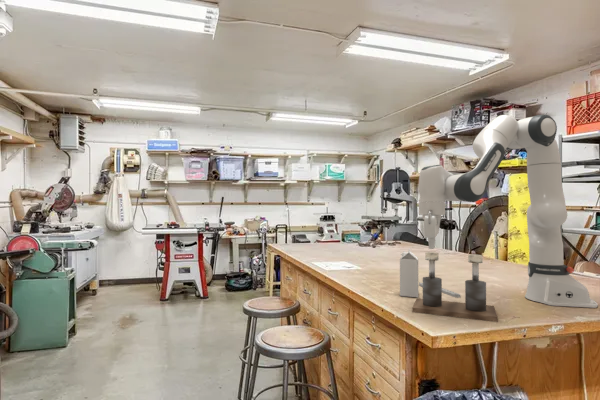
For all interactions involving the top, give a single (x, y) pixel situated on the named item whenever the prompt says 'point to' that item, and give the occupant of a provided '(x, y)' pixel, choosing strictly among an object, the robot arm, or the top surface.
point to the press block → (469, 309)
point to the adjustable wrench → (446, 291)
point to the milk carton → (409, 274)
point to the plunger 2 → (475, 265)
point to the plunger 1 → (431, 262)
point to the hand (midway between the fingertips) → (431, 248)
